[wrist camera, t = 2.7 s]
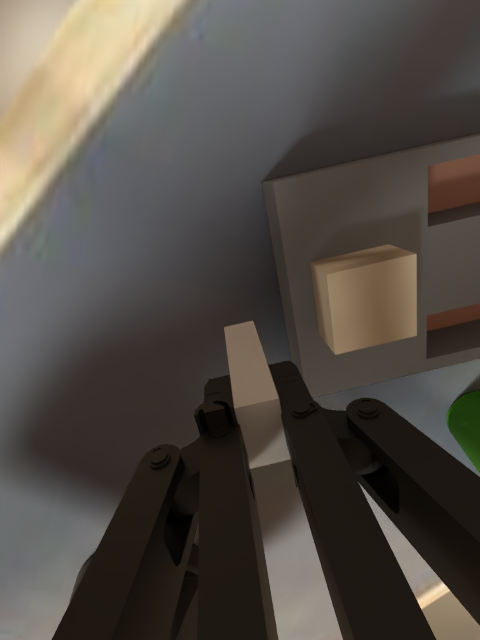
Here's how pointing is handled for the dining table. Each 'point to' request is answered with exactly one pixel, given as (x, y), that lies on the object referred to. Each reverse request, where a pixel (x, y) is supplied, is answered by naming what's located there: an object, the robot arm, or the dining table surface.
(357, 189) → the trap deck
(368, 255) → the block
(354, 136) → the dining table surface
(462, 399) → the cup
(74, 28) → the dining table surface
